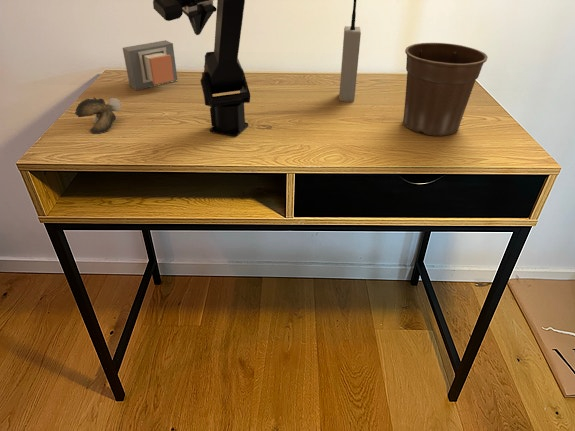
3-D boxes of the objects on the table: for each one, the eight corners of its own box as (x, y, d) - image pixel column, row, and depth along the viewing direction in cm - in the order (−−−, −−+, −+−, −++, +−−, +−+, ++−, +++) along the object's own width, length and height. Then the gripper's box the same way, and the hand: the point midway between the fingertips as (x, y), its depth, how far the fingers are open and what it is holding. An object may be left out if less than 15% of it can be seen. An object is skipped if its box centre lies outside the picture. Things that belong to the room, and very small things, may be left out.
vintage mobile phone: (353, 94, 119) (363, -12, 104) (354, 102, 114) (364, -8, 100) (339, 94, 119) (347, -13, 104) (339, 101, 115) (347, -9, 100)
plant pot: (439, 107, 112) (453, 39, 103) (484, 134, 100) (505, 59, 90) (381, 116, 107) (390, 45, 98) (421, 145, 95) (436, 67, 86)
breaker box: (178, 81, 126) (173, 43, 120) (136, 90, 119) (129, 51, 114) (170, 77, 128) (165, 40, 123) (129, 86, 122) (122, 47, 116)
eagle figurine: (86, 112, 105) (68, 120, 97) (99, 85, 102) (81, 92, 94) (116, 130, 106) (101, 141, 98) (130, 105, 104) (115, 113, 96)
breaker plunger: (174, 80, 120) (170, 55, 116) (154, 84, 117) (150, 59, 113) (156, 70, 126) (153, 46, 123) (138, 74, 123) (133, 50, 120)
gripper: (212, -57, 105) (211, 8, 117) (136, -43, 96) (144, 26, 108) (240, -35, 100) (236, 30, 113) (164, -17, 92) (169, 51, 104)
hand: (197, 34), depth 109 cm, fingers closed
